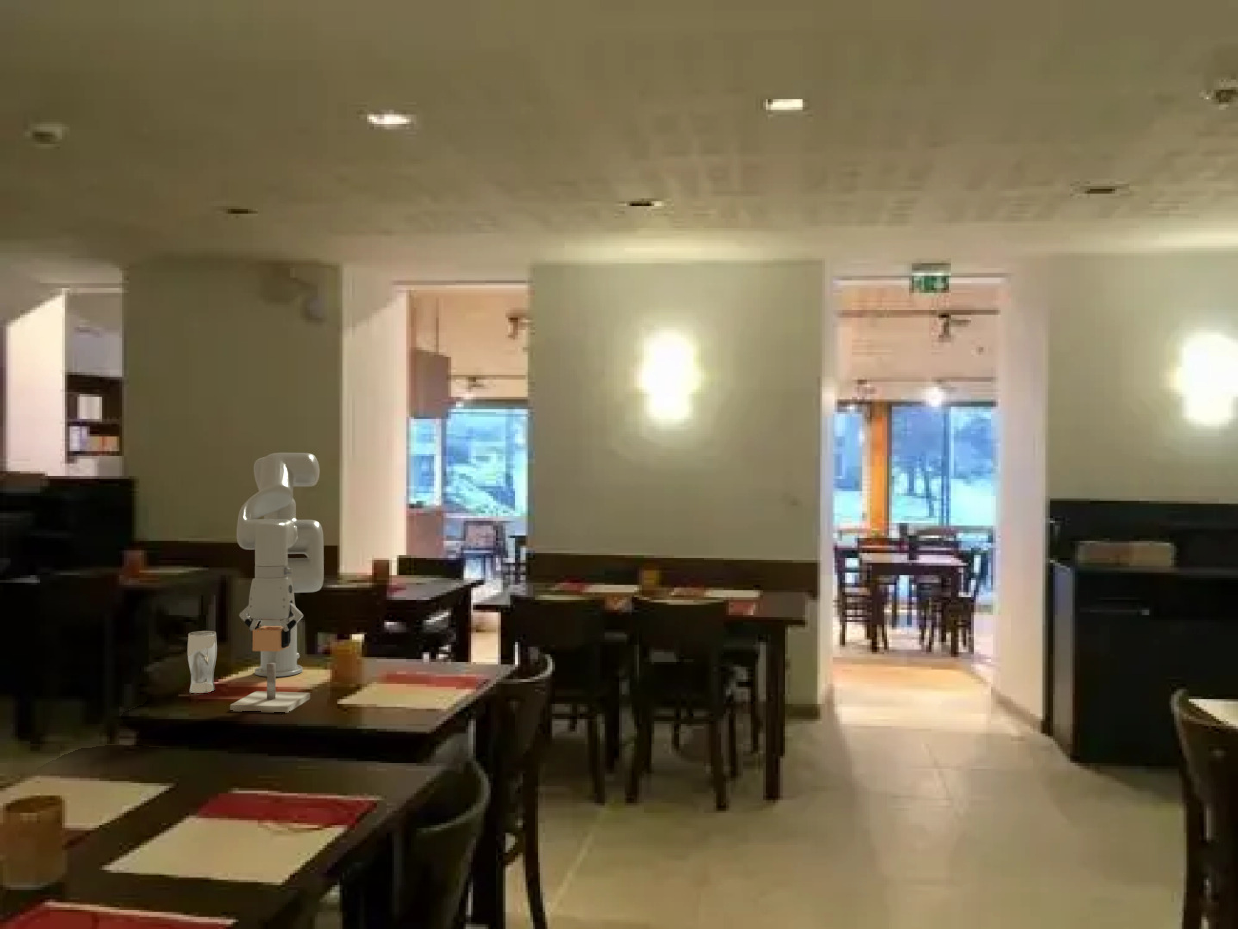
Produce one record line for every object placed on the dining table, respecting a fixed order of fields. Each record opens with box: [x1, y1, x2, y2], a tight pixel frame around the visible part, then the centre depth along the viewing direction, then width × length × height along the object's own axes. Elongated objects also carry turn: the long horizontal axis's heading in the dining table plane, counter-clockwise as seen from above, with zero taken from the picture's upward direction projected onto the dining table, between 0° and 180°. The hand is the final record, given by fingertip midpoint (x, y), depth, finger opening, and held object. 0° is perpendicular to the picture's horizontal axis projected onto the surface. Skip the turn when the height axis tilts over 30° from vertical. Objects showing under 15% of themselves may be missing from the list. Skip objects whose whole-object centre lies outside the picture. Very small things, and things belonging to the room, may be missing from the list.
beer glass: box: [187, 630, 218, 694], centre depth 268 cm, size 7×7×15 cm
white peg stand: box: [229, 663, 311, 714], centre depth 255 cm, size 14×14×10 cm
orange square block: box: [252, 626, 289, 652], centre depth 255 cm, size 6×6×5 cm
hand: (271, 646), depth 255 cm, fingers closed on orange square block, 6 cm apart
